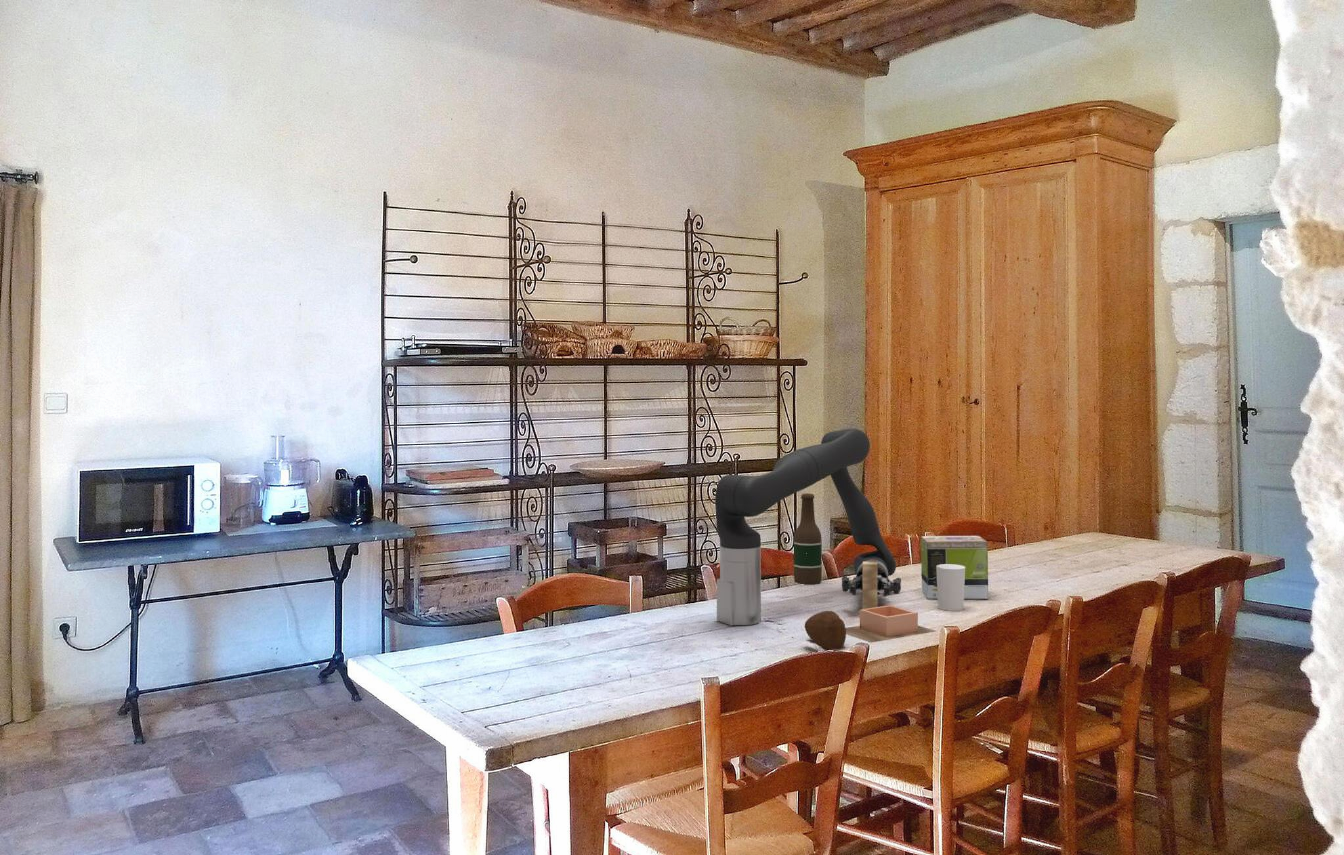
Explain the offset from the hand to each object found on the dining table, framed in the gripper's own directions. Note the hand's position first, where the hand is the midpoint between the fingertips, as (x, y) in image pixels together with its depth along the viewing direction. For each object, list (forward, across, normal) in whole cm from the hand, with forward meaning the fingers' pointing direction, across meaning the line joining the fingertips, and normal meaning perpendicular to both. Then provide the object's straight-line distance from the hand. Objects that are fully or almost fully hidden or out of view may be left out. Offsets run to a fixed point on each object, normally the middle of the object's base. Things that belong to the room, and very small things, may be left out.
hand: (869, 591), depth 224 cm
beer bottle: (-43, -18, +7) cm, 47 cm away
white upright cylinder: (-18, +18, +7) cm, 26 cm away
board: (+12, +4, +7) cm, 14 cm away
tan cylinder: (-2, 0, +7) cm, 7 cm away
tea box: (-33, +20, +7) cm, 39 cm away
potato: (+25, -8, +7) cm, 27 cm away
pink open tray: (+11, +4, +6) cm, 13 cm away
